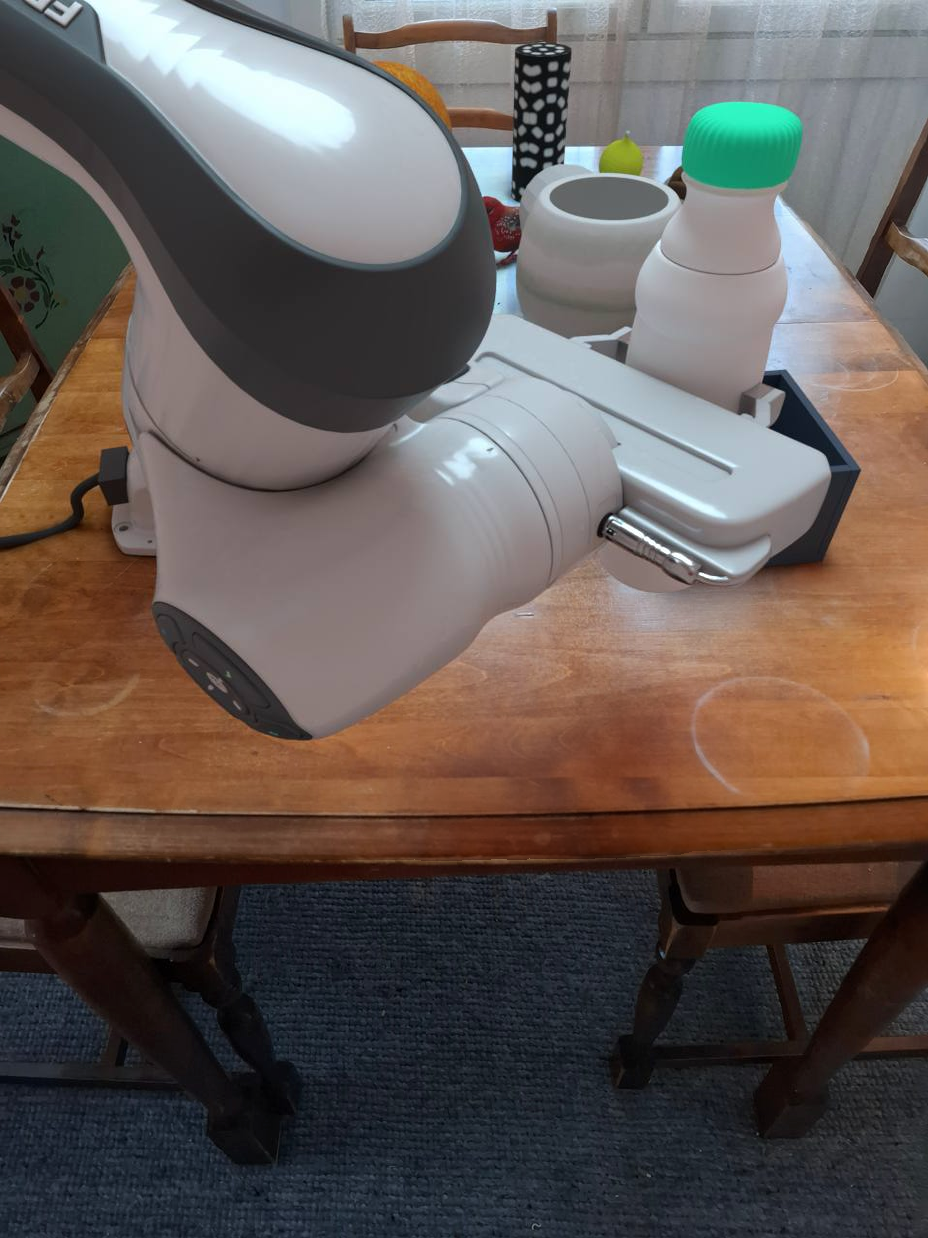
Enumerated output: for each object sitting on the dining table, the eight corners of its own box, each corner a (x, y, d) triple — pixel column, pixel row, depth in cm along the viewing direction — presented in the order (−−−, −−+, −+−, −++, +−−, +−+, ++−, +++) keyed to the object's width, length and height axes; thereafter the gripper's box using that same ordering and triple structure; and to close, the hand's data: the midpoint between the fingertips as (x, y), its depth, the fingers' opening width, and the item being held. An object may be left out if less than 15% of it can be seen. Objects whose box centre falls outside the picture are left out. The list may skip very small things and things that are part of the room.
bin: (650, 577, 70) (670, 485, 62) (609, 470, 80) (621, 381, 73) (822, 561, 71) (861, 469, 63) (759, 458, 81) (786, 368, 74)
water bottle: (708, 606, 48) (849, 143, 30) (591, 590, 49) (658, 134, 31) (708, 530, 53) (829, 91, 35) (601, 518, 54) (664, 85, 36)
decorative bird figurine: (465, 274, 112) (463, 198, 105) (553, 238, 120) (557, 165, 112) (479, 280, 110) (478, 204, 103) (567, 244, 118) (572, 170, 111)
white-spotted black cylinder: (504, 189, 134) (507, 45, 119) (550, 183, 135) (558, 40, 121) (521, 207, 128) (526, 58, 114) (569, 200, 130) (580, 53, 115)
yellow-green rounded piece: (620, 199, 130) (628, 129, 123) (588, 187, 134) (594, 119, 126) (648, 187, 133) (658, 119, 126) (615, 177, 137) (623, 110, 129)
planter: (489, 393, 91) (490, 179, 74) (615, 365, 94) (643, 156, 78) (549, 472, 80) (566, 245, 64) (688, 438, 84) (738, 214, 68)
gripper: (741, 540, 28) (917, 389, 35) (369, 341, 38) (559, 254, 45) (705, 656, 33) (865, 504, 39) (381, 451, 43) (551, 357, 49)
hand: (699, 369), depth 42 cm, fingers closed on water bottle, 7 cm apart
